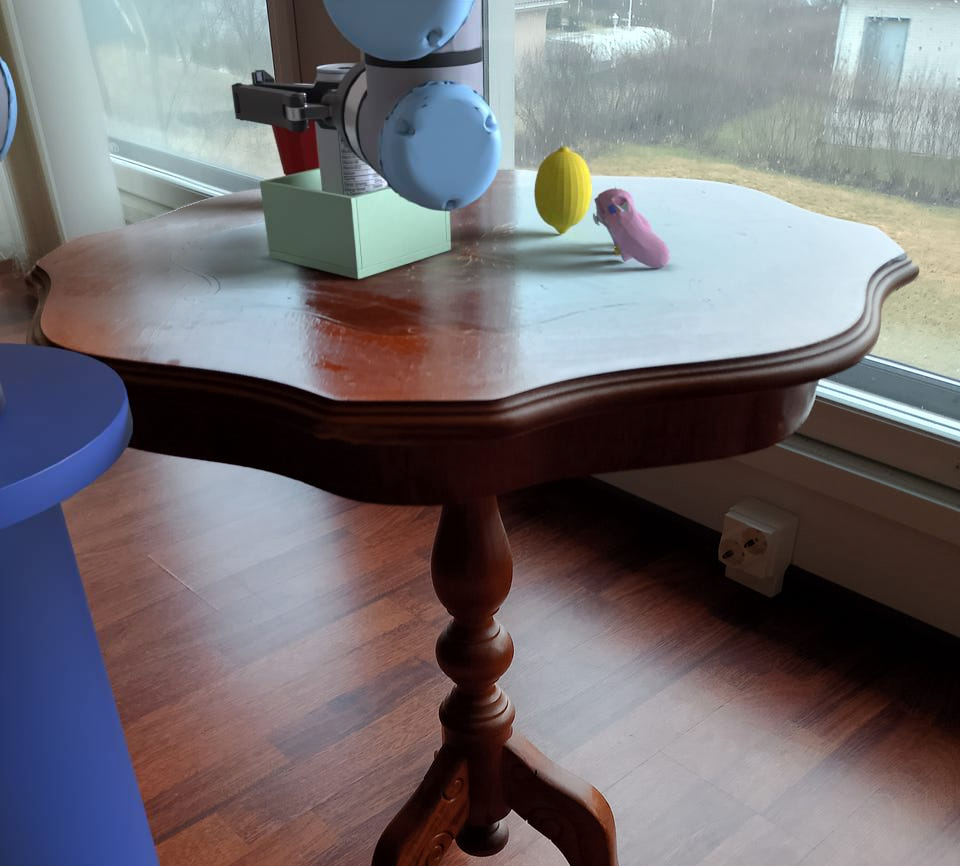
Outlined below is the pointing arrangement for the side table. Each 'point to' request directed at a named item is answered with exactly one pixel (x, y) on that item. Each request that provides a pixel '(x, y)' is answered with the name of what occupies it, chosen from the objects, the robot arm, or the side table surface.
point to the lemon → (563, 189)
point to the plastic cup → (297, 148)
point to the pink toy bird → (629, 229)
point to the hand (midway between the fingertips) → (337, 82)
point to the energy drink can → (342, 152)
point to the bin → (348, 227)
